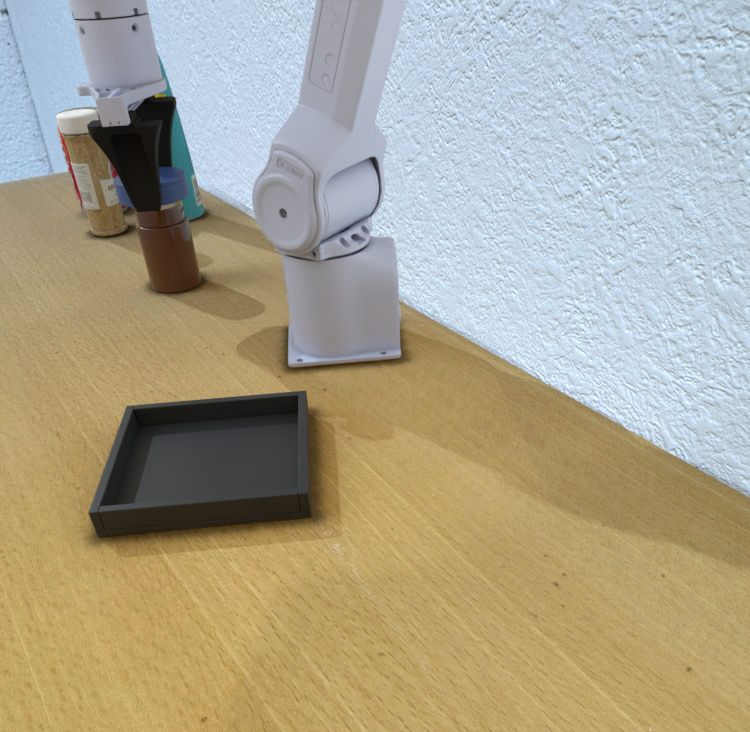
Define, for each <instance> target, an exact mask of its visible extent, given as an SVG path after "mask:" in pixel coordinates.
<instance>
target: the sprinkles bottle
mask: <svg viewBox="0 0 750 732" xmlns="http://www.w3.org/2000/svg"><path fill="white" fill-rule="evenodd" d="M58 113H59V112H58ZM58 113H57V114H56V116H55V118H56V122H57V127H58V126H59V129H60V132H61V133H62V136H63V138H64V140H65V144H66V147H67V150H68V153H69V157H70V160H71V166H72V169H73V172H74V175H75V179H76V182H77V185H78V188H79V192H80V195H81V198H82V201H83V204H84V207H85V209H86V211H85V212H86V215H87V219H88V221H89V224H90V232H91V233H92V235H94V236H97V237H111V236H117V235H120V234H122V233H123V232H125V231H126V230H127V229H128V228H129V227H128V223H127V222H126V218H125V215H124V212H123V211H122V208H121V204H120V203H119V200H118V196H117V193H116V189H115V185H114V182H113V181H114V177H113V173H112V170H111V166H110V162H109V160H108V158H107V156H106V155H105V154H104V152H103V151H102V150H101V148H100V147H99V146H98V145H97V144H96V143H95V141H94V140H93V139H92V138H91V136H90V134H89V132H88V128H87V125H88V124H89V123H90V122H91V121H93V120H99V117H98V114H97V112H96V111H95V110H92V109H77V110H70V111H65V112H62V113H59V114H58Z"/></svg>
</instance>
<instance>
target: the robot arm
mask: <svg viewBox="0 0 750 732" xmlns="http://www.w3.org/2000/svg"><path fill="white" fill-rule="evenodd" d="M67 1H68V4H69V8H70V12H71V16H72V19H73V23H74V27H75V30H76V34H77V38H78V41H79V45H80V49H81V53H82V57H83V61H84V64H85V68H86V71H87V75H88V78H89V82H82V83H79V84H78V85H77V86H76V90H77V94H78V96H80V97H88V96H89V97H92V98H93V100H95V105H96V107H97V108H98V112H99V116H100V120H93V121H91V122H90V123H89V124H88V125H87V128H88V132H89V134H90V136H91V138H92V139H93V140H94V141H95V143H96V144H97V145H98V146H99V147H100V148H101V150H102V151H103V152H104V154H105V155H106V156H107V158H108V159H109V161H110V162H111V164H112V165H113V167H114V169H115V170H116V172H117V174H118V176H119V178H120V180H121V182H122V184H123V186H124V188H125V190H126V192H127V195H128V197H129V199H130V201H131V203H132V204H133V206H134V208H135V210H136V211H137V212H149V211H159V210H161V204H162V195H161V184H160V175H159V167H172V146H171V141H172V125H173V118H174V113H175V109H176V107H177V103H178V102H177V98H176V97H175V96H174V95H173V96H165V97H156V98H155V95H156V94H158V93H161V92H163V91H165V90H166V89H167V85H166V80H165V78H164V77H163V76H162V73H161V68H160V64H159V59H158V55H159V53H158V49H157V44H156V41H155V36H154V31H153V26H152V21H151V17H150V13H149V9H148V4H147V0H67ZM407 1H408V0H315V3H314V4H315V5H314V9H313V10H314V11H313V16H312V20H311V21H312V22H311V27H310V34H309V40H308V45H307V49H306V56H305V63H304V68H303V72H302V79H301V85H300V90H299V96H298V101H297V104H296V106H295V108H294V109H293V111H292V112H291V114H290V115H289V116H288V117H287V119H286V121H285V122H284V123H283V125H282V126H281V127H280V129H279V130H278V132H277V133H276V134H275V136H274V137H273V139H272V141H271V144H270V148H269V149H270V150H269V154H268V159H267V162H266V164H265V166H264V168H263V169H262V171H261V172H260V173H259V174H258V175H257V176H256V179H255V181H254V184H253V187H252V194H251V204H252V209H253V214H254V217H255V220H256V223H257V225H258V227H259V229H260V231H261V232H262V234H263V235H264V237H265V238H266V240H267V241H268V242H269V243H270V244H271V245H272V246H273V247H274V252H275V253H277V254H280V256H281V264H282V271H283V277H284V284H285V285H284V287H285V293H286V301H287V309H288V315H289V323H288V336H287V337H288V338H287V339H288V343H287V344H288V345H287V365H288V367H290V368H303V367H316V366H328V365H329V366H330V365H341V364H350V363H363V362H375V361H385V360H386V361H387V360H397V359H400V358H401V357H402V350H401V329H400V327H401V325H402V312H401V311H402V310H401V304H400V291H399V288H400V287H399V286H400V285H399V271H398V269H399V268H398V258H397V250H396V244H395V241H394V240H395V239H394V238H393V237H390V236H382V237H381V236H374V235H371V232H373V216H374V215H376V214H377V212H378V211H379V209H380V208H381V206H382V204H383V201H384V197H385V191H386V181H385V173H384V160H385V159H384V158H385V153H386V149H387V146H388V140H387V137H386V136H385V134H384V133H383V132H382V130H381V129H380V127H378V125H377V123H376V120H377V116H378V112H379V107H380V105H381V100H382V96H383V92H384V89H385V84H386V80H387V77H388V73H389V70H390V66H391V62H392V58H393V55H394V51H395V48H396V47H395V46H396V43H397V38H398V36H399V35H398V34H399V31H400V27H401V23H402V20H403V15H404V12H405V8H406V6H407V5H406V4H407ZM157 53H158V54H157ZM135 210H134V211H135Z"/></svg>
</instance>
